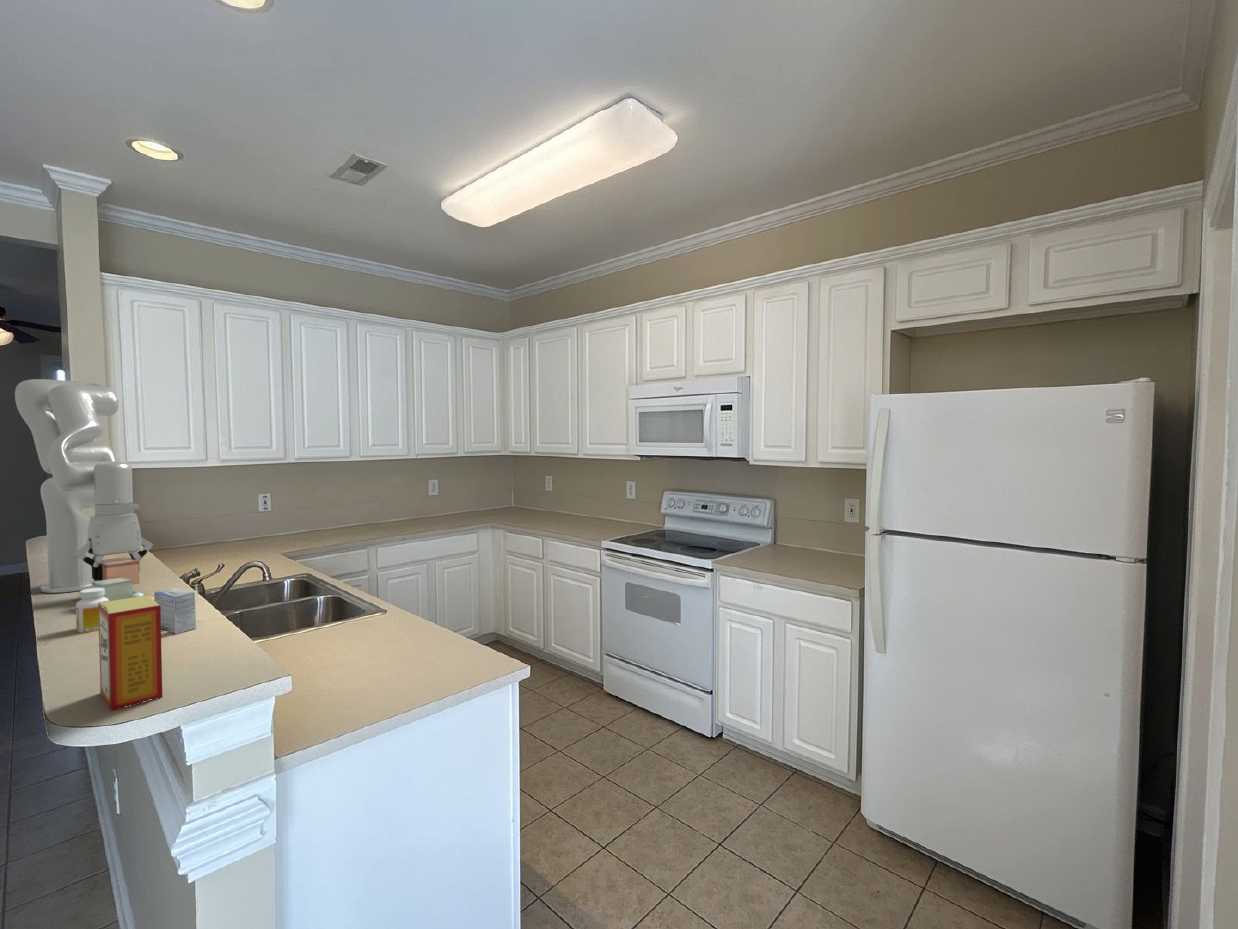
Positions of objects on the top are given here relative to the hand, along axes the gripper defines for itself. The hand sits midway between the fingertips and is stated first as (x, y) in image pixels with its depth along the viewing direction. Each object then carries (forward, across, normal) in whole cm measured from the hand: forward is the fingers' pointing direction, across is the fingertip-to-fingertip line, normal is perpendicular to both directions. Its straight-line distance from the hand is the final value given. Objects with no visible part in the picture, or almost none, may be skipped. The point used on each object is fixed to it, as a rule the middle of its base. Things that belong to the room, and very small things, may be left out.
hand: (116, 578), depth 150 cm
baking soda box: (+7, +20, +69) cm, 72 cm away
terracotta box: (+1, 0, 0) cm, 1 cm away
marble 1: (+4, 0, +14) cm, 15 cm away
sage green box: (+5, +4, +8) cm, 10 cm away
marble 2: (+5, 0, +18) cm, 19 cm away
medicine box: (+7, +2, +37) cm, 37 cm away
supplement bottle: (+7, +12, +26) cm, 29 cm away
